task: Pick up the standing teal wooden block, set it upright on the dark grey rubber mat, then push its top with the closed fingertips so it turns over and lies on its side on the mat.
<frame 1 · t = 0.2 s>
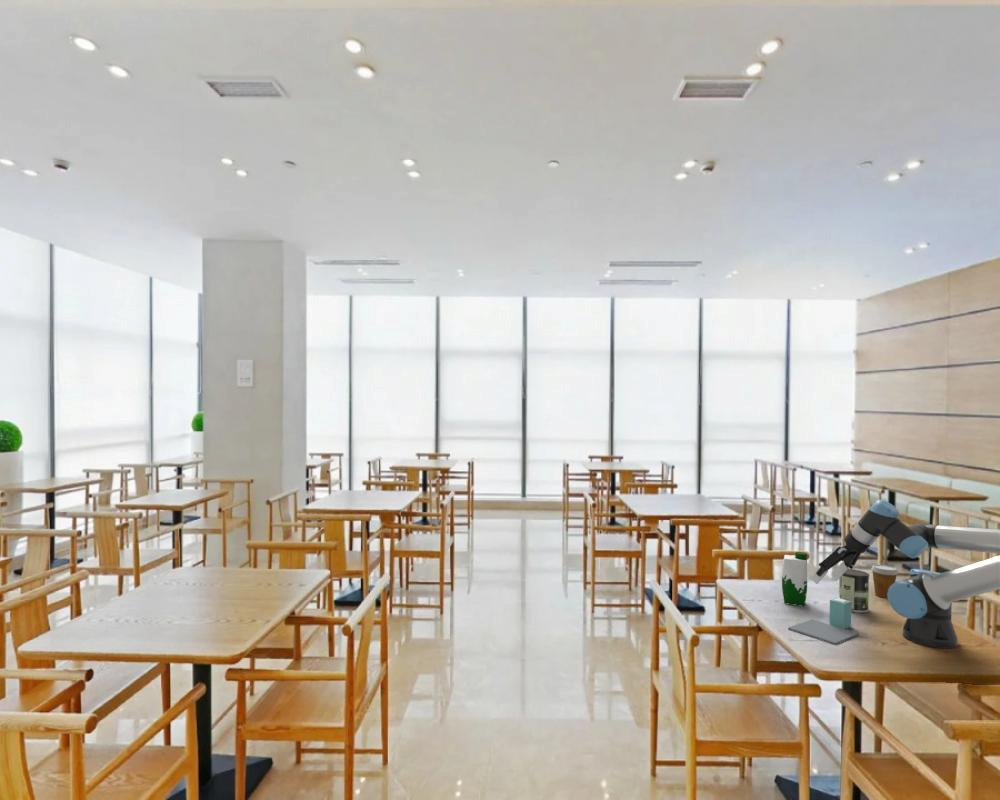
hand: (824, 579, 218), 15 cm above the table, tool tilted 35°, fingers open, 13 cm apart
mat: (823, 632, 207), on the table
disposable coffee cup: (883, 596, 251), on the table
milk carton: (794, 603, 239), on the table
coffee can: (853, 608, 234), on the table
block: (840, 625, 214), on the table
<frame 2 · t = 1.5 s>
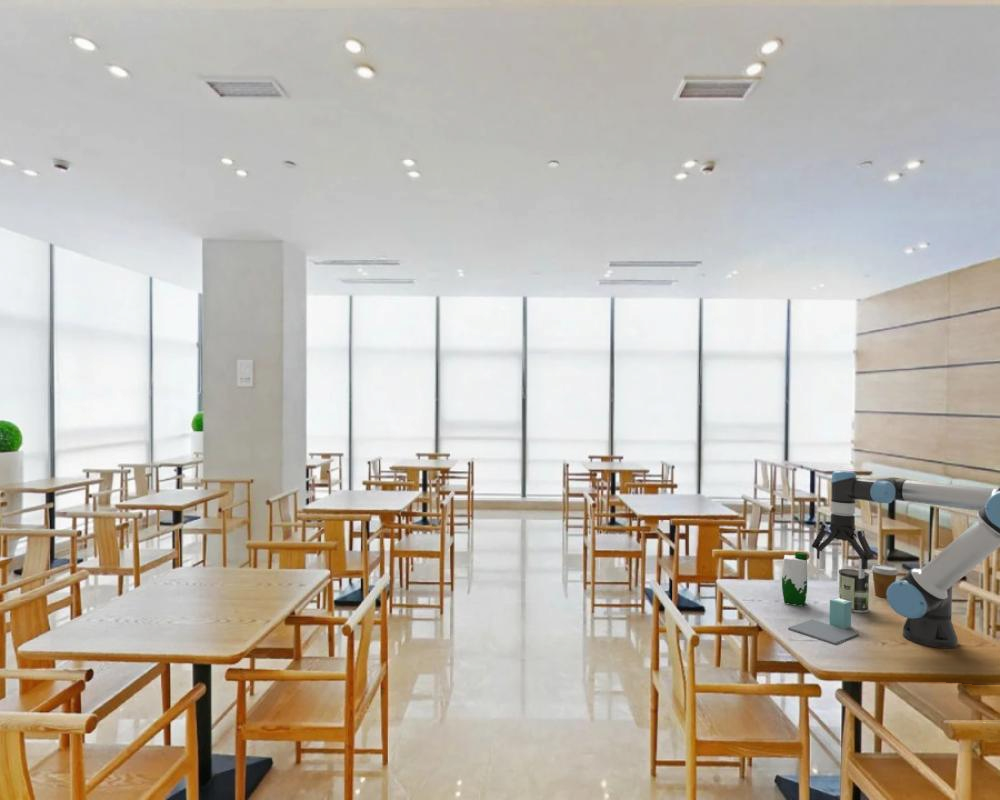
hand: (841, 573, 214), 19 cm above the table, tool pointing down, fingers open, 13 cm apart
nothing on the table moved.
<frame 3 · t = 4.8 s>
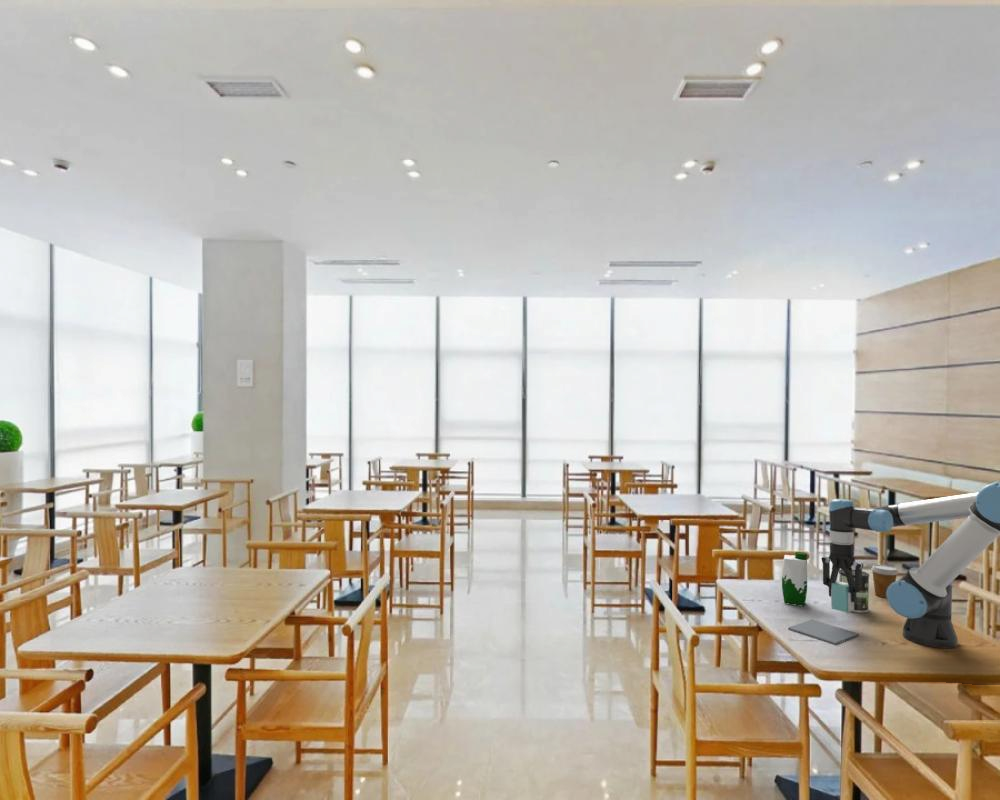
hand: (842, 608, 213), 6 cm above the table, tool pointing down, fingers closed on block, 5 cm apart
block: (842, 609, 213), point 6 cm above the table, touching gripper
everything else where it was.
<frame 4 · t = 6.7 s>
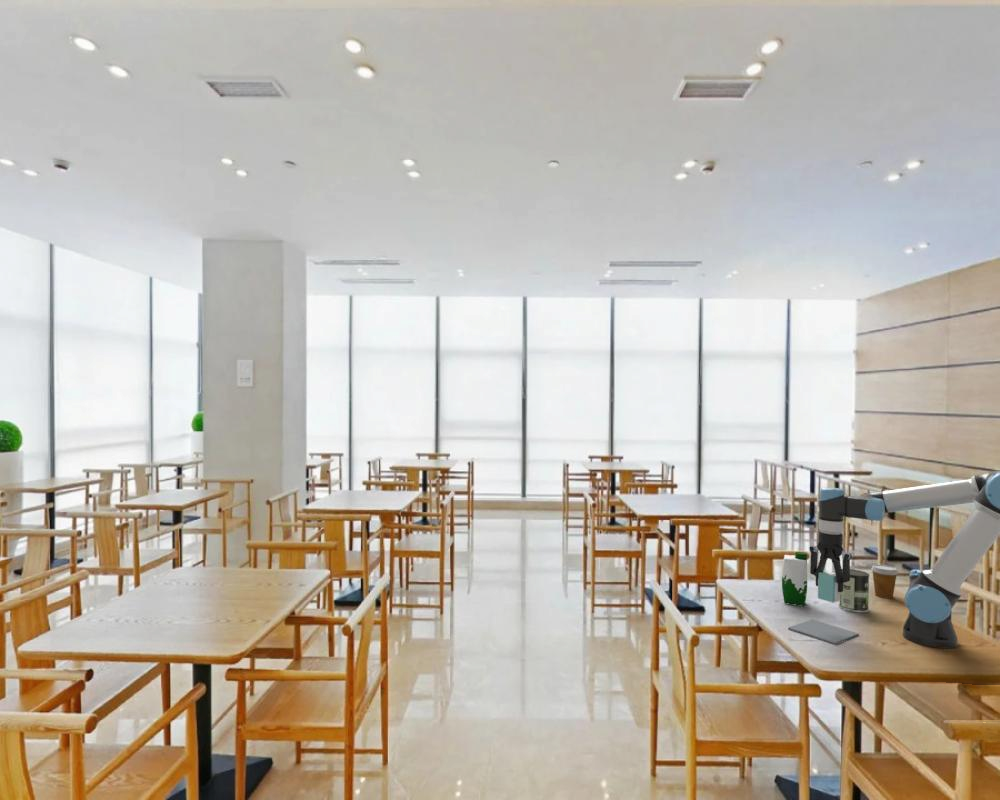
hand: (829, 598, 209), 11 cm above the table, tool pointing down, fingers closed on block, 5 cm apart
block: (829, 599, 209), point 11 cm above the table, touching gripper
everything else where it was.
when the fingers open (2 cm above the table, at t = 8.6 s): block stays where it is, resting on mat.
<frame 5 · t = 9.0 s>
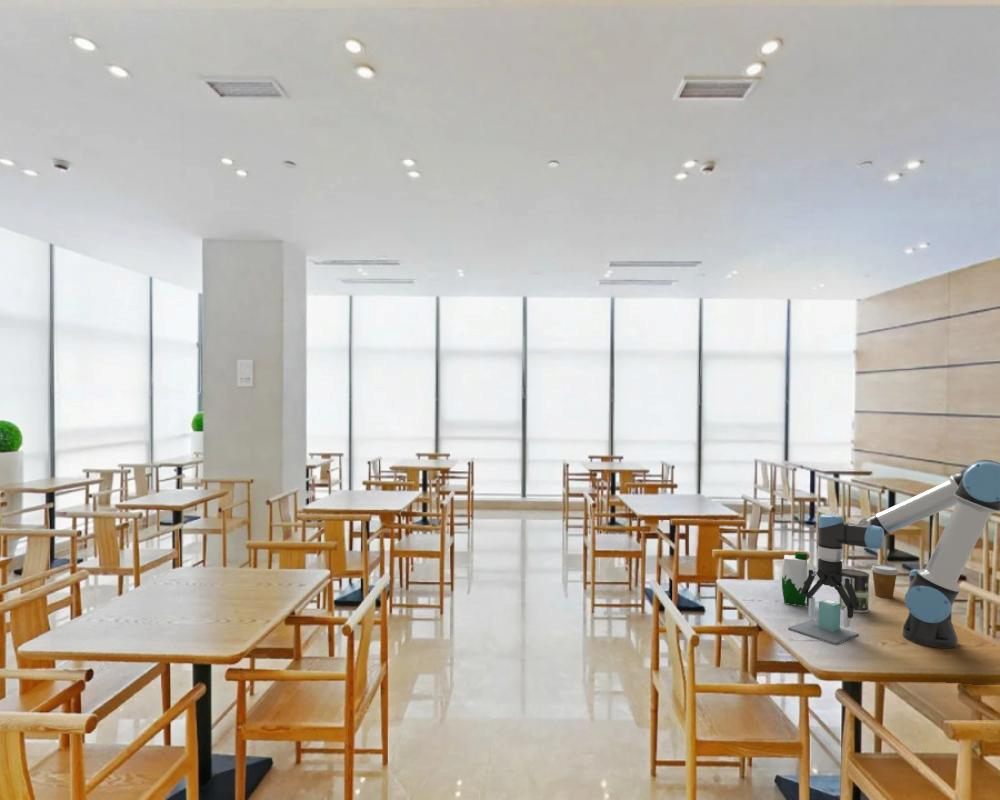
hand: (829, 621, 209), 3 cm above the table, tool pointing down, fingers open, 11 cm apart
block: (829, 628, 209), point 1 cm above the table, touching mat
everything else where it was.
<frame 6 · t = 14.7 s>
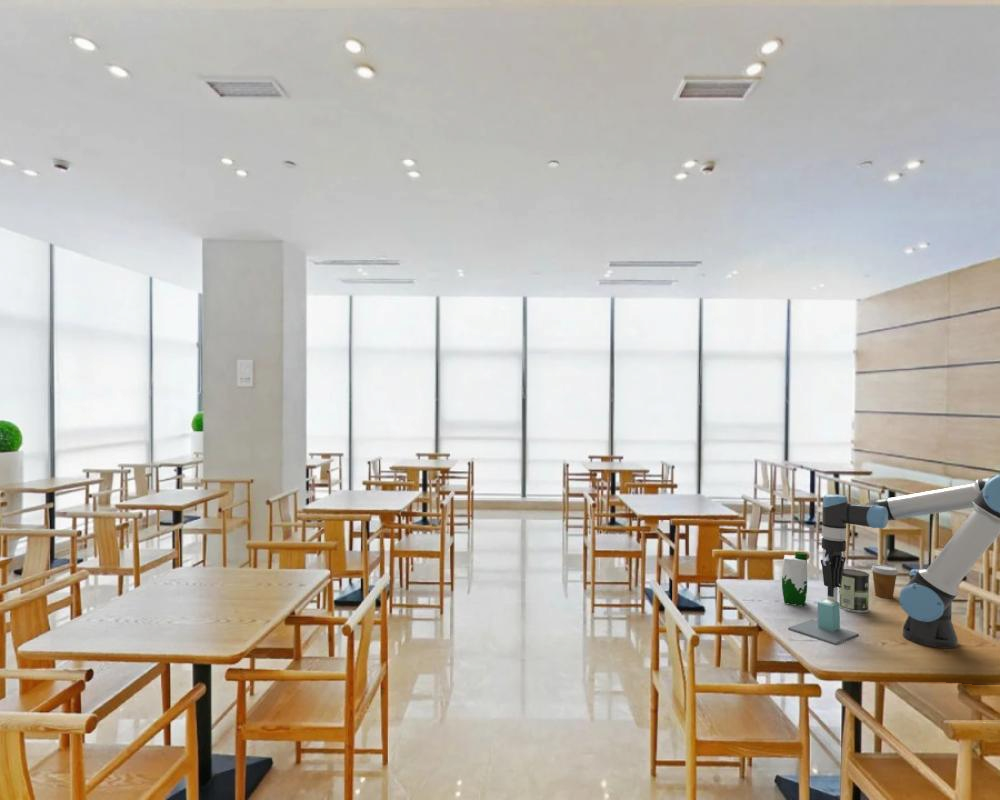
hand: (832, 605, 211), 8 cm above the table, tool pointing down, fingers closed
block: (829, 627, 209), point 1 cm above the table, tilted 5°, touching mat
everything else where it was.
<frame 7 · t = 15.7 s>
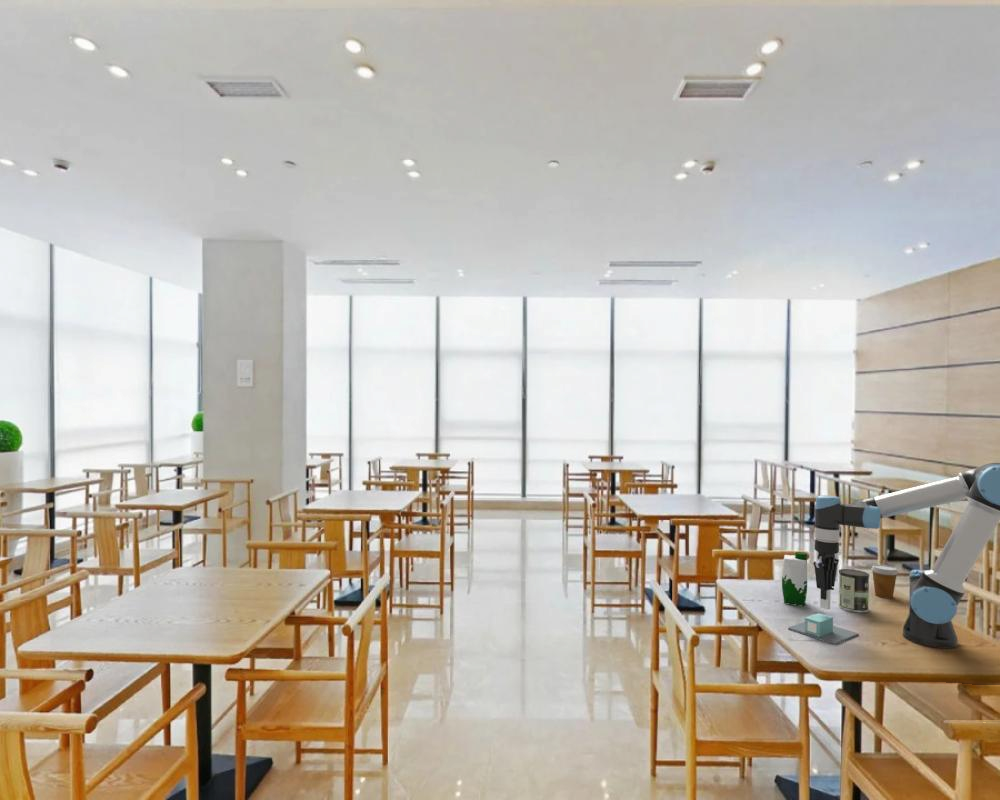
hand: (825, 608, 208), 8 cm above the table, tool pointing down, fingers closed
block: (825, 622, 208), point 3 cm above the table, tilted 90°, touching mat
everything else where it was.
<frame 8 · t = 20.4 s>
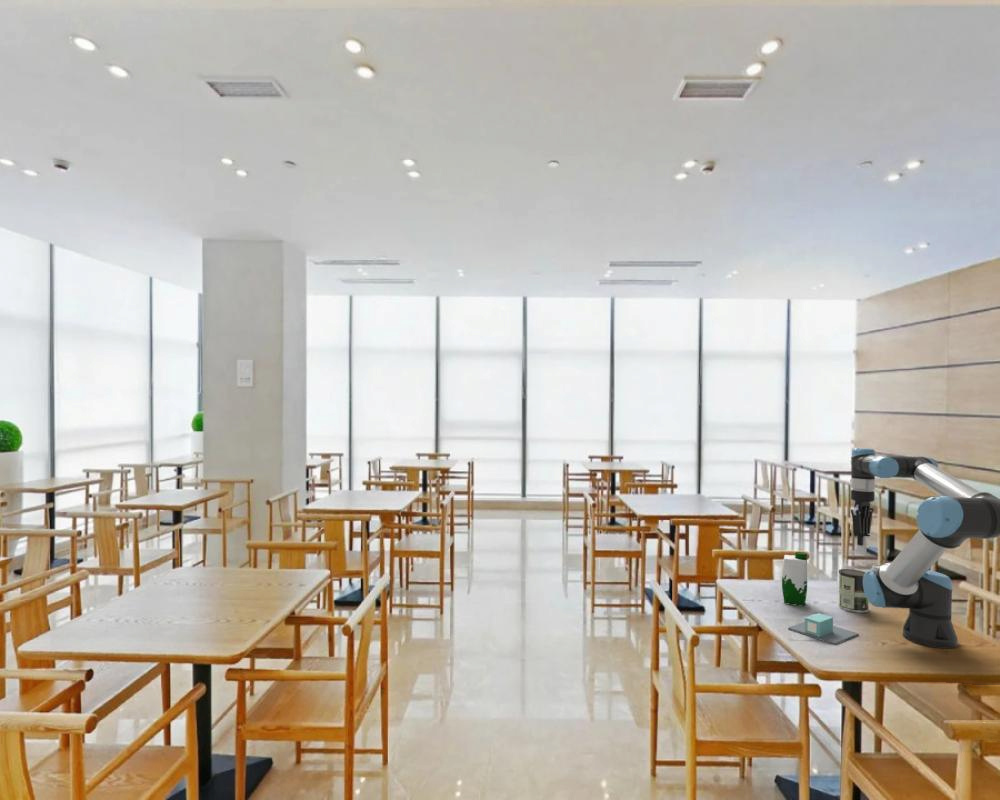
hand: (861, 553, 221), 24 cm above the table, tool pointing down, fingers closed
nothing on the table moved.
at the end: block tilted 90°; block inside the target area (2.5 cm from its centre), point 3.1 cm above the table; the gripper is holding nothing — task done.
